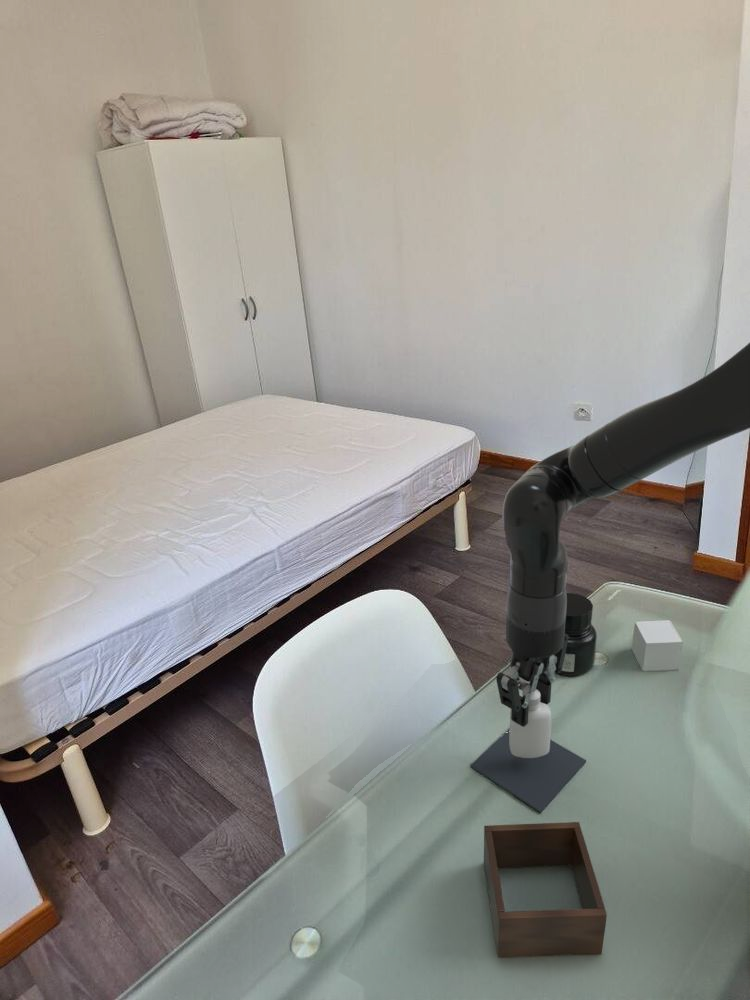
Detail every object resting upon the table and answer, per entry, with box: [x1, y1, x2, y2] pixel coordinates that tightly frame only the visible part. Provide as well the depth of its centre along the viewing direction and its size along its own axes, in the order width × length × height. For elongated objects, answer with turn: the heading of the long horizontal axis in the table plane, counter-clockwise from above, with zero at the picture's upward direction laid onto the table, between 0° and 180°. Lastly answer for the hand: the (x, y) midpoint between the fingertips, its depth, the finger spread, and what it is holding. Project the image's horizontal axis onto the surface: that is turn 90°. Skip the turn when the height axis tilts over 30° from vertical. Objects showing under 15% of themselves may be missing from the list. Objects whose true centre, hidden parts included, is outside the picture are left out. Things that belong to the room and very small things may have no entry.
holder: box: [483, 821, 608, 958], centre depth 81 cm, size 12×12×7 cm
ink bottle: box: [554, 592, 598, 677], centre depth 118 cm, size 10×9×12 cm
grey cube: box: [631, 619, 684, 672], centre depth 118 cm, size 6×6×6 cm
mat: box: [470, 728, 587, 814], centre depth 101 cm, size 12×12×1 cm
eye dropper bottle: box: [509, 689, 552, 758], centre depth 97 cm, size 4×6×12 cm
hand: (531, 711), depth 96 cm, fingers closed on eye dropper bottle, 5 cm apart
